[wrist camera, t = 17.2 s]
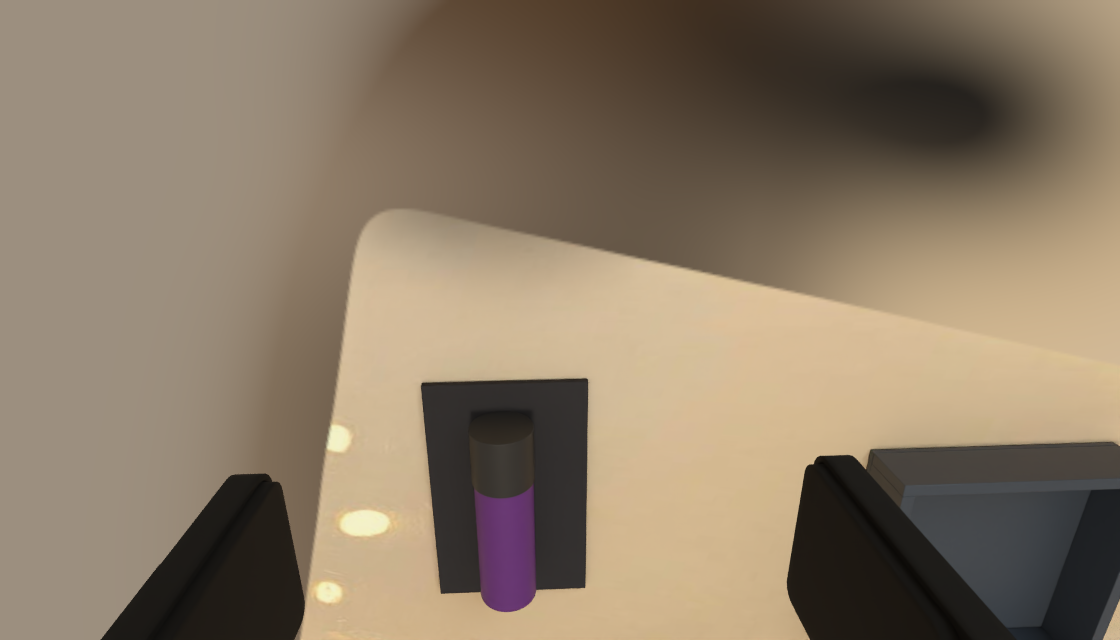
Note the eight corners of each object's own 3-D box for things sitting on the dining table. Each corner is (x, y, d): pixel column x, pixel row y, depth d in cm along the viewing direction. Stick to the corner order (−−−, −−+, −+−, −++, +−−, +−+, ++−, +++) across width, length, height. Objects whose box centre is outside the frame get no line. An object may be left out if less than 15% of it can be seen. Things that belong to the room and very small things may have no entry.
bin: (870, 449, 40) (905, 485, 36) (1113, 442, 40) (1171, 476, 37) (831, 639, 45) (858, 686, 42) (1044, 629, 46) (1088, 675, 43)
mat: (421, 382, 36) (420, 385, 36) (587, 378, 37) (588, 381, 36) (441, 589, 42) (440, 593, 42) (584, 583, 42) (585, 588, 42)
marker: (484, 568, 41) (474, 613, 38) (474, 410, 37) (461, 443, 33) (540, 570, 41) (534, 616, 38) (536, 411, 37) (530, 445, 33)
